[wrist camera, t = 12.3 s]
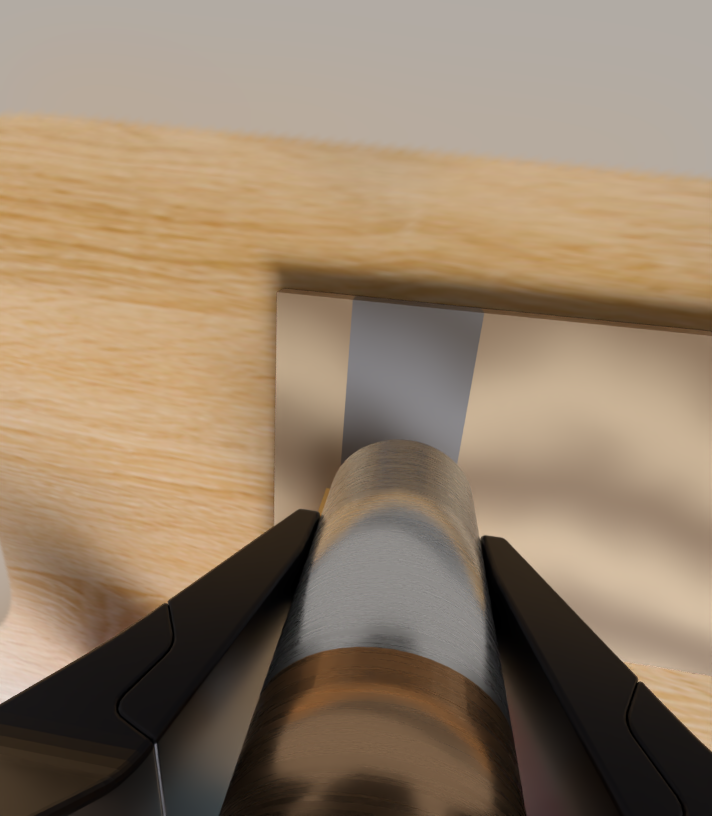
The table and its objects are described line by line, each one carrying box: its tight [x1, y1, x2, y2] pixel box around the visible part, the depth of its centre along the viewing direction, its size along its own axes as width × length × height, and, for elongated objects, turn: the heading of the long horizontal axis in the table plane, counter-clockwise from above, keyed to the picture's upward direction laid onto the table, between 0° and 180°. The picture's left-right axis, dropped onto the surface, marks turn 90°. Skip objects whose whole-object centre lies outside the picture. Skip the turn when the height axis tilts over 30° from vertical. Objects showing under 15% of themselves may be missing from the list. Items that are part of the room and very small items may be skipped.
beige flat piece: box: [274, 288, 712, 676], centre depth 21 cm, size 16×22×1 cm
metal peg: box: [219, 439, 527, 816], centre depth 7 cm, size 3×3×6 cm
